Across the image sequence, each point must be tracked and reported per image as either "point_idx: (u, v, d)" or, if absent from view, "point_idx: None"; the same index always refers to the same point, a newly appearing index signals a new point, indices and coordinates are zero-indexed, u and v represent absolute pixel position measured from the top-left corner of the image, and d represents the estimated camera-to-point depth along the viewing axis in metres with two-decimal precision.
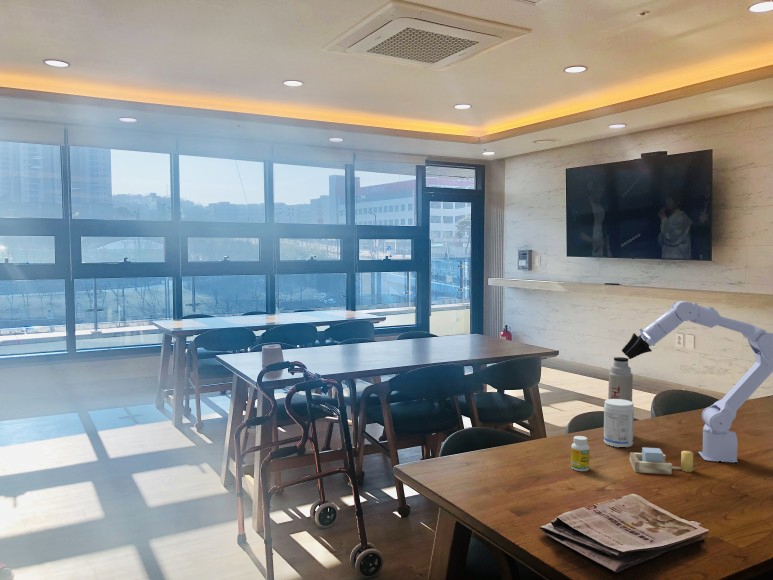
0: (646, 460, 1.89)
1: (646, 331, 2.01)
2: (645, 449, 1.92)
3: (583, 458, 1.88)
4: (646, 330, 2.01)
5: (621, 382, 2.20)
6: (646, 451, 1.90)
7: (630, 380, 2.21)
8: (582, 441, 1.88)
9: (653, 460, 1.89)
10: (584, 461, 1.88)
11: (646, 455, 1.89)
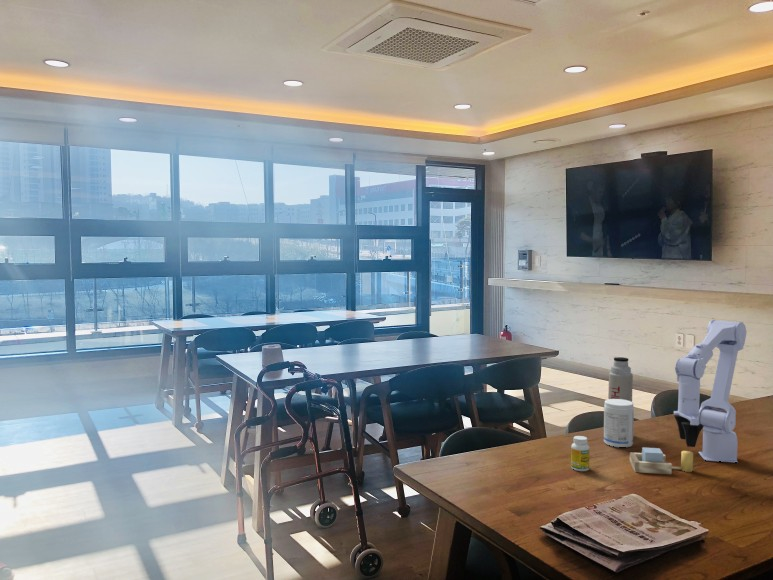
0: (646, 460, 1.89)
1: (682, 411, 1.87)
2: (645, 449, 1.92)
3: (583, 458, 1.88)
4: (681, 410, 1.87)
5: (621, 382, 2.20)
6: (646, 451, 1.90)
7: (630, 380, 2.21)
8: (582, 441, 1.88)
9: (653, 460, 1.89)
10: (584, 461, 1.88)
11: (646, 455, 1.89)
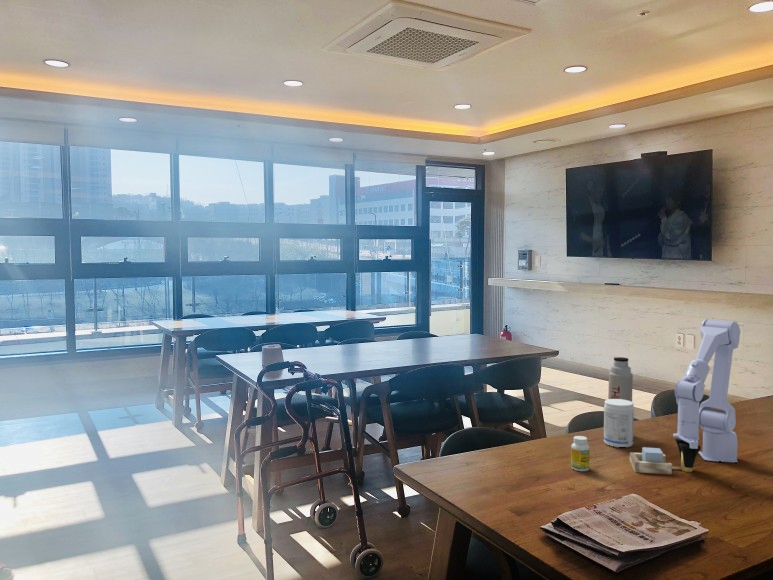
0: (646, 460, 1.89)
1: (681, 434, 1.87)
2: (645, 449, 1.92)
3: (583, 458, 1.88)
4: (680, 433, 1.87)
5: (621, 382, 2.20)
6: (646, 451, 1.90)
7: (630, 380, 2.21)
8: (582, 441, 1.88)
9: (653, 460, 1.89)
10: (584, 461, 1.88)
11: (646, 455, 1.89)
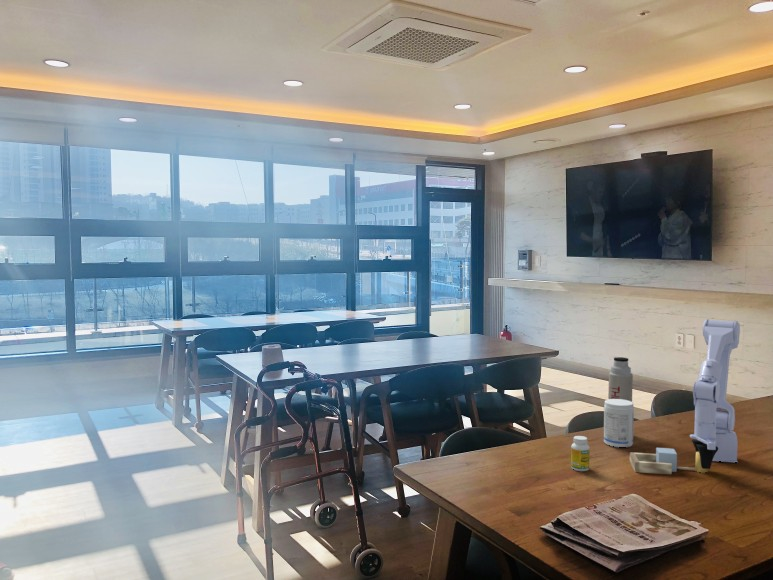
0: (660, 460, 1.89)
1: (698, 435, 1.86)
2: (659, 449, 1.91)
3: (583, 458, 1.88)
4: (697, 434, 1.86)
5: (621, 382, 2.20)
6: (660, 451, 1.89)
7: (630, 380, 2.21)
8: (582, 441, 1.88)
9: (667, 460, 1.88)
10: (584, 461, 1.88)
11: (660, 455, 1.89)
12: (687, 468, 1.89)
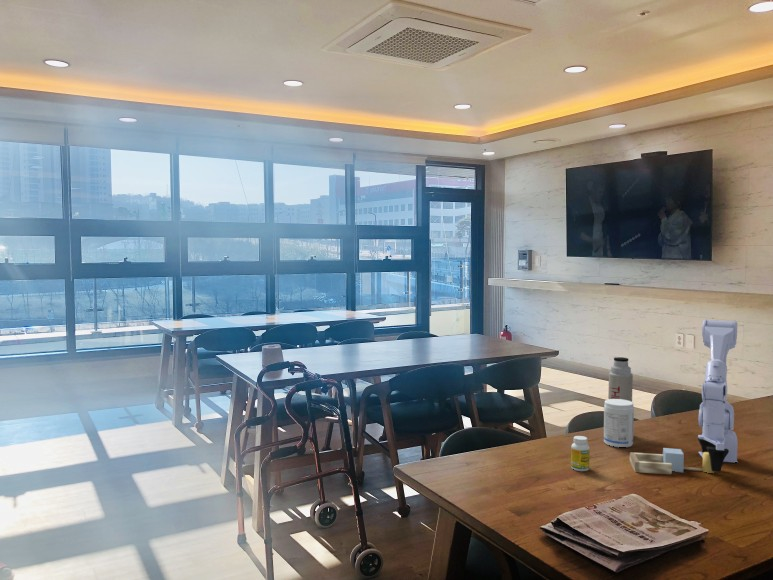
0: (666, 461, 1.88)
1: (706, 436, 1.86)
2: (666, 450, 1.91)
3: (583, 458, 1.88)
4: (705, 435, 1.86)
5: (621, 382, 2.20)
6: (666, 452, 1.89)
7: (630, 380, 2.21)
8: (582, 441, 1.88)
9: (673, 461, 1.88)
10: (584, 461, 1.88)
11: (666, 456, 1.88)
12: (694, 468, 1.89)
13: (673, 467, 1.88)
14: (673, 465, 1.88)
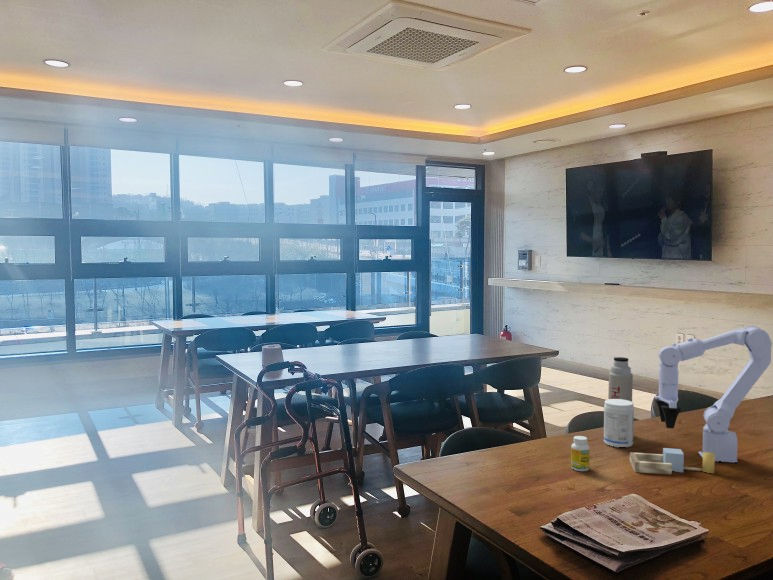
0: (666, 461, 1.88)
1: (662, 396, 2.03)
2: (666, 450, 1.91)
3: (583, 458, 1.88)
4: (661, 395, 2.03)
5: (621, 382, 2.20)
6: (666, 452, 1.89)
7: (630, 380, 2.21)
8: (582, 441, 1.88)
9: (673, 461, 1.88)
10: (584, 461, 1.88)
11: (666, 456, 1.88)
12: (694, 468, 1.89)
13: (673, 467, 1.88)
14: (673, 465, 1.88)
